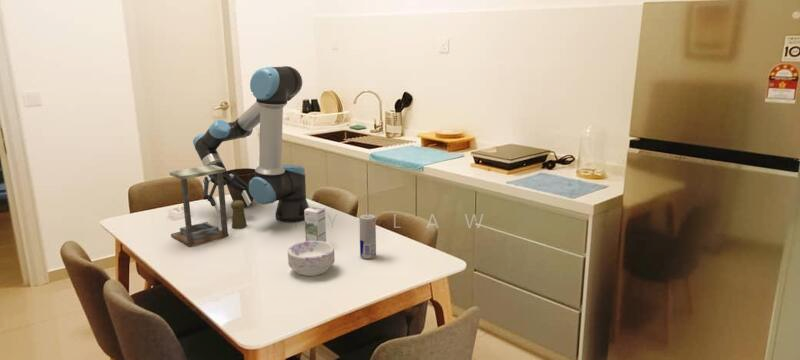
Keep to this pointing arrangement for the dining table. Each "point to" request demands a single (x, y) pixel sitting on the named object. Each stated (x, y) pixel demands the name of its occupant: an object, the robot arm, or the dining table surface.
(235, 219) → the cork
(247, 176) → the plant pot
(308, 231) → the syrup box
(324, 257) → the paper bowls
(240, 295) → the dining table surface
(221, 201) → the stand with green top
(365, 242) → the beverage can
